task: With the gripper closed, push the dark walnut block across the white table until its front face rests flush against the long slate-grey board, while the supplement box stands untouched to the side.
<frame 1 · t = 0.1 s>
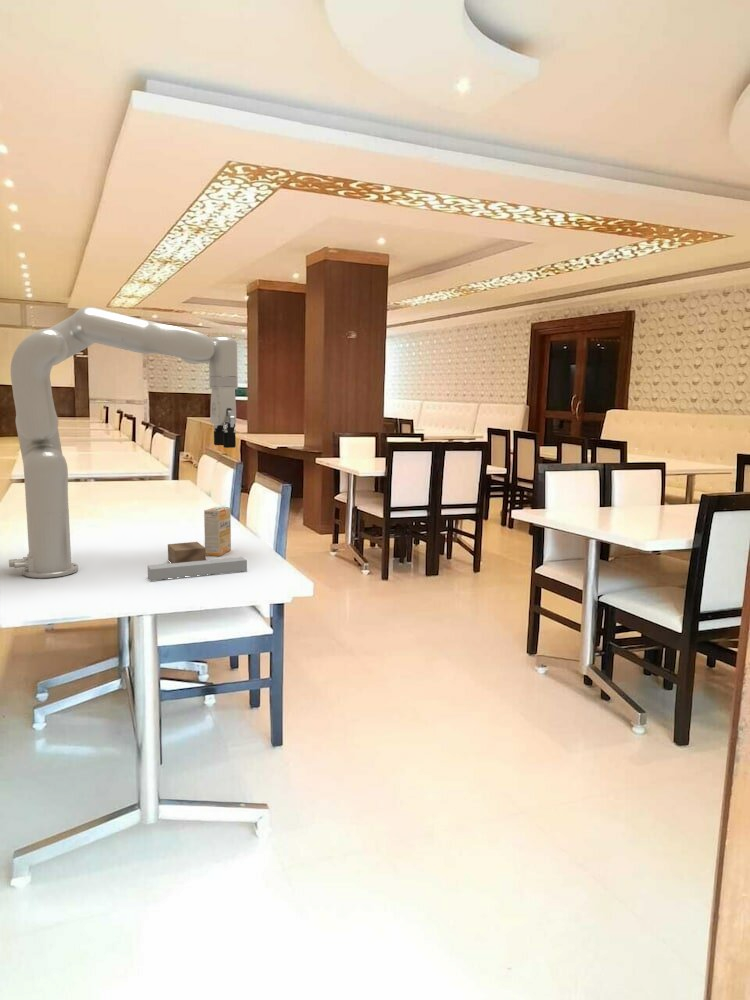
hand: (224, 446, 190), 31 cm above the table, tool pointing down, fingers open, 9 cm apart
grey board: (198, 574, 174), on the table
supplement box: (218, 553, 198), on the table
walnut block: (186, 564, 185), on the table
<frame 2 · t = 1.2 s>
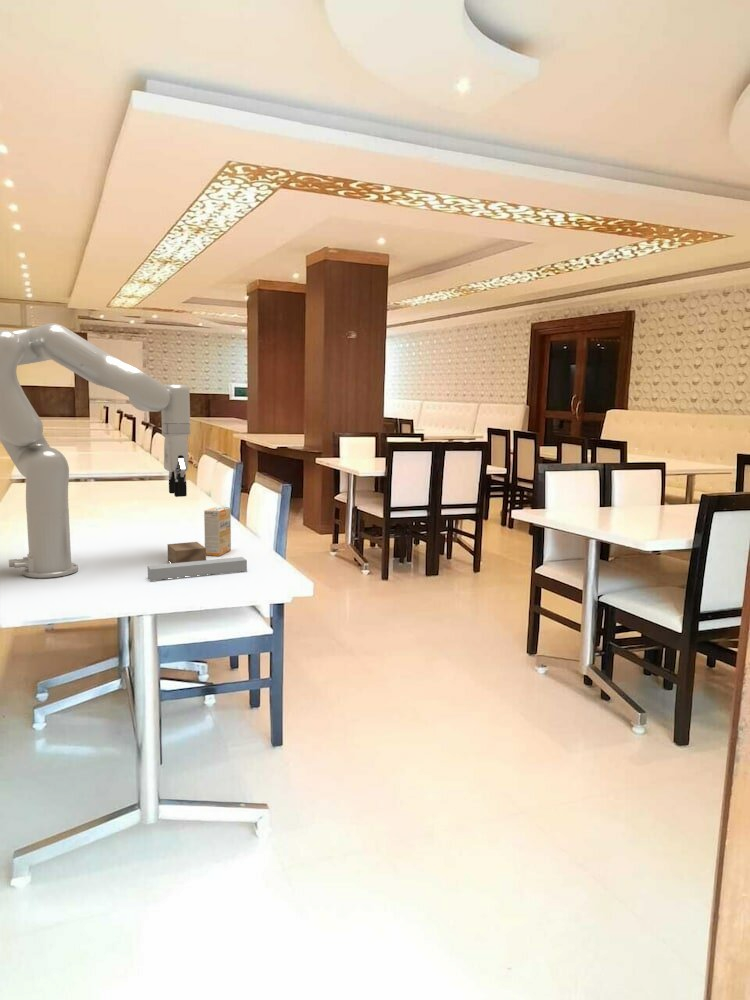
hand: (177, 494, 191), 18 cm above the table, tool pointing down, fingers open, 6 cm apart
nothing on the table moved.
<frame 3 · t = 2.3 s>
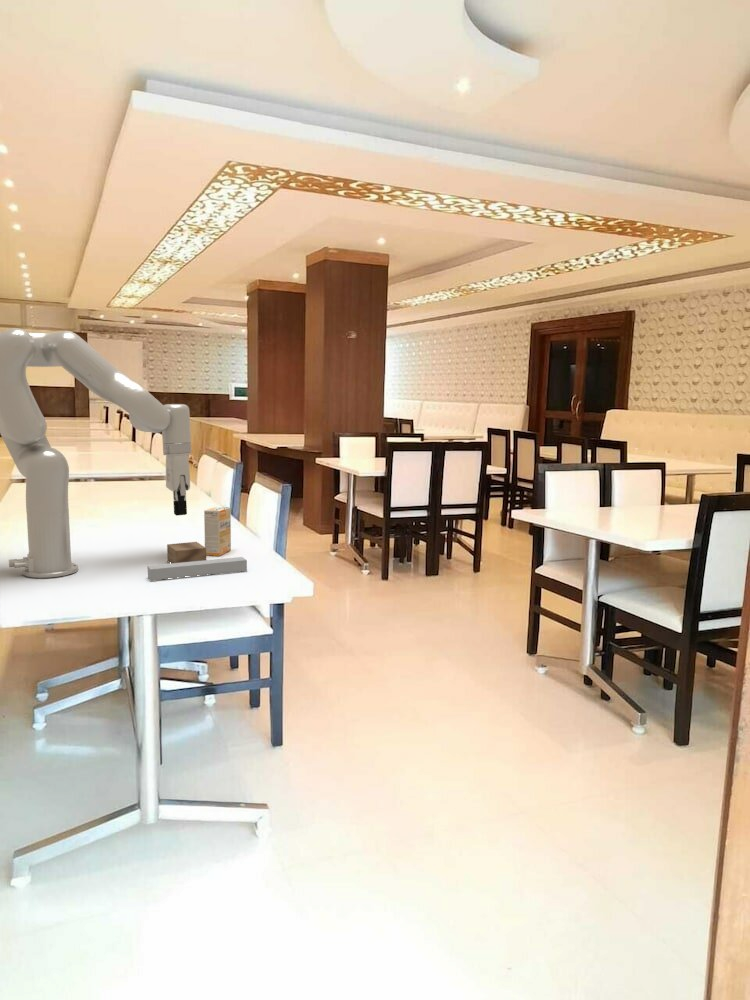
hand: (180, 514, 192), 12 cm above the table, tool pointing down, fingers closed
nothing on the table moved.
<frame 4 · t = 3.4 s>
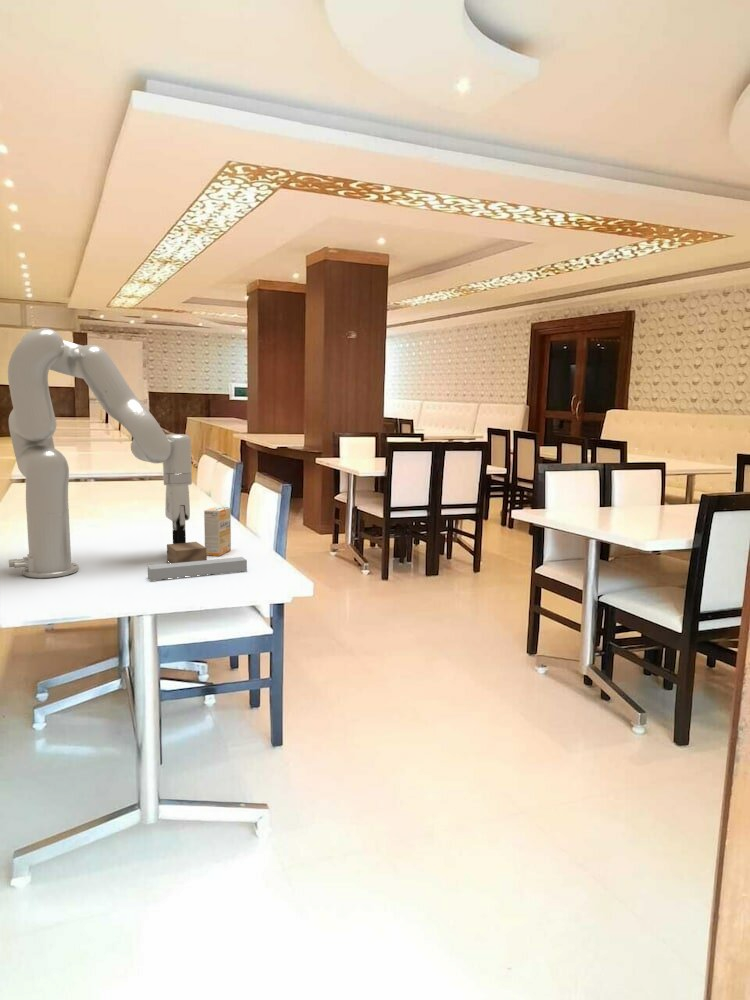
hand: (179, 543, 192), 4 cm above the table, tool pointing down, fingers closed
nothing on the table moved.
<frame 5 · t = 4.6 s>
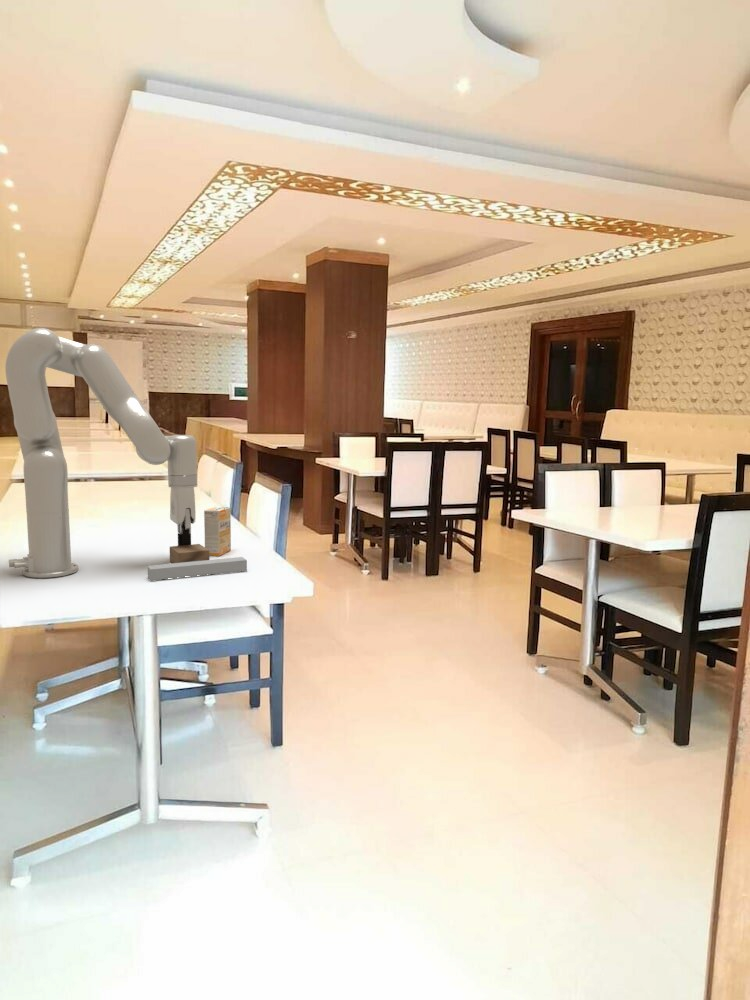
hand: (184, 547, 187), 4 cm above the table, tool pointing down, fingers closed
walnut block: (189, 566, 182), on the table, touching gripper
everything else where it was.
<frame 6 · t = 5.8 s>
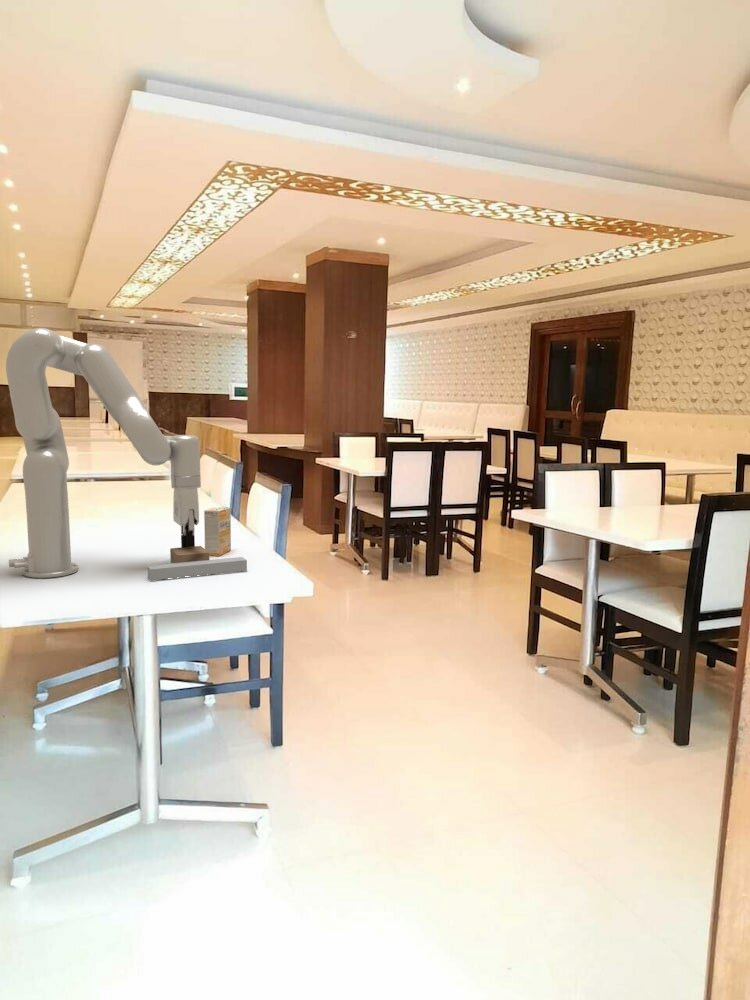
hand: (188, 549, 184), 4 cm above the table, tool pointing down, fingers closed
walnut block: (189, 569, 179), on the table, touching grey board, gripper
everything else where it was.
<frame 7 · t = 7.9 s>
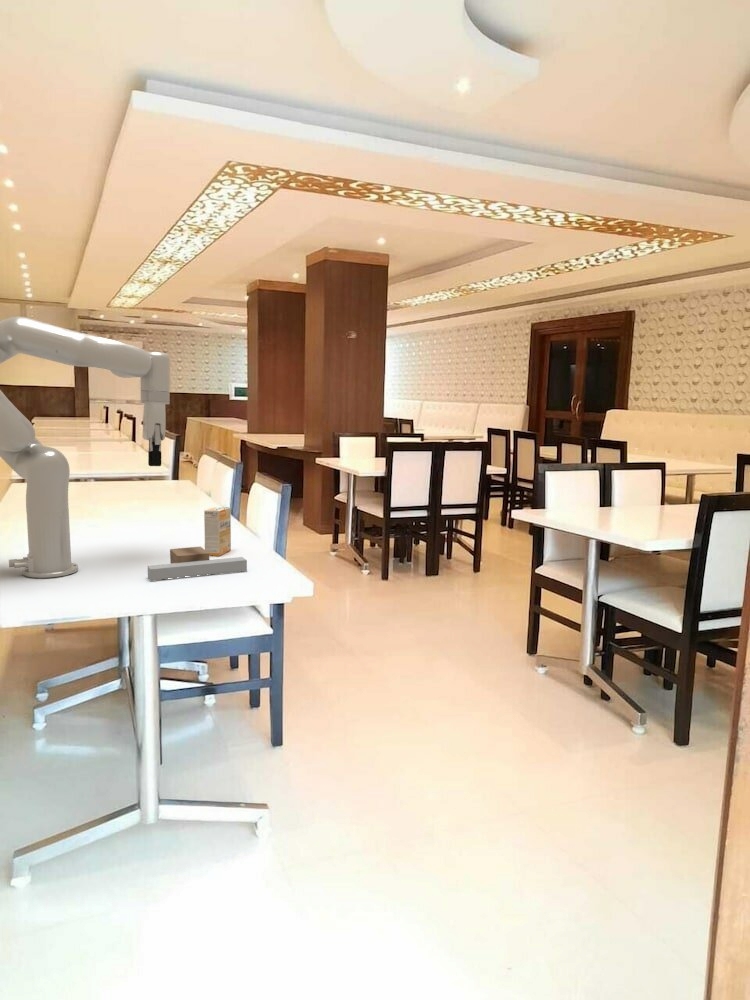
hand: (154, 465, 188), 26 cm above the table, tool pointing down, fingers closed
walnut block: (189, 569, 179), on the table
everything else where it was.
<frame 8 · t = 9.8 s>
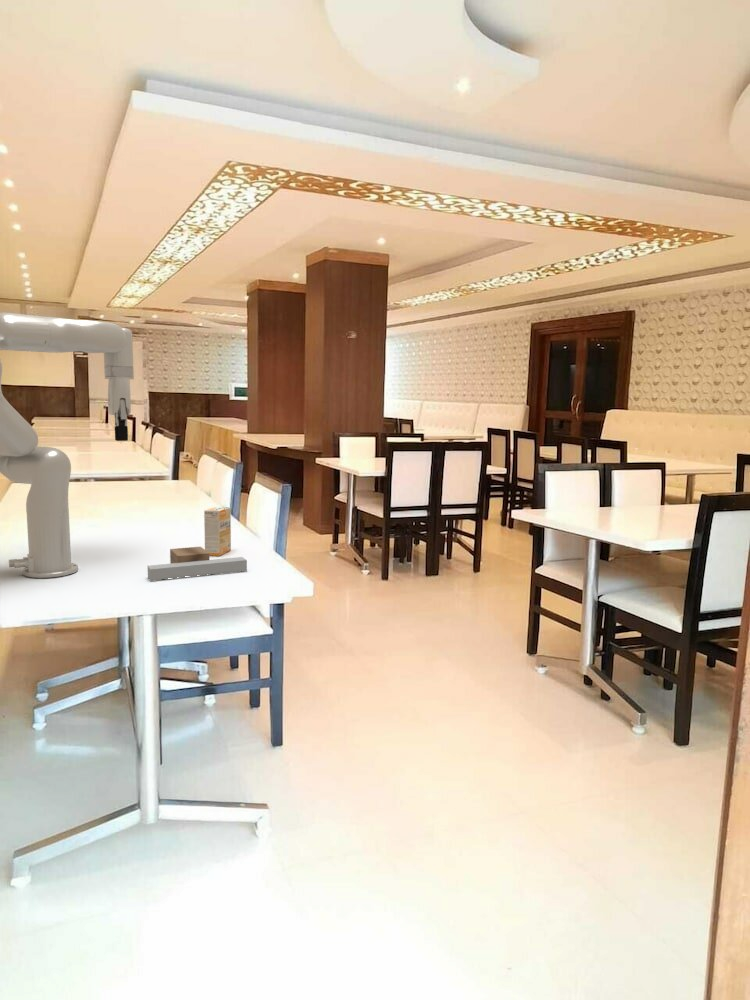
hand: (121, 440, 191), 32 cm above the table, tool pointing down, fingers closed
nothing on the table moved.
at the end: walnut block 0.9 cm from the target spot on the table beside the grey board, on the table; walnut block tilted 0° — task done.
